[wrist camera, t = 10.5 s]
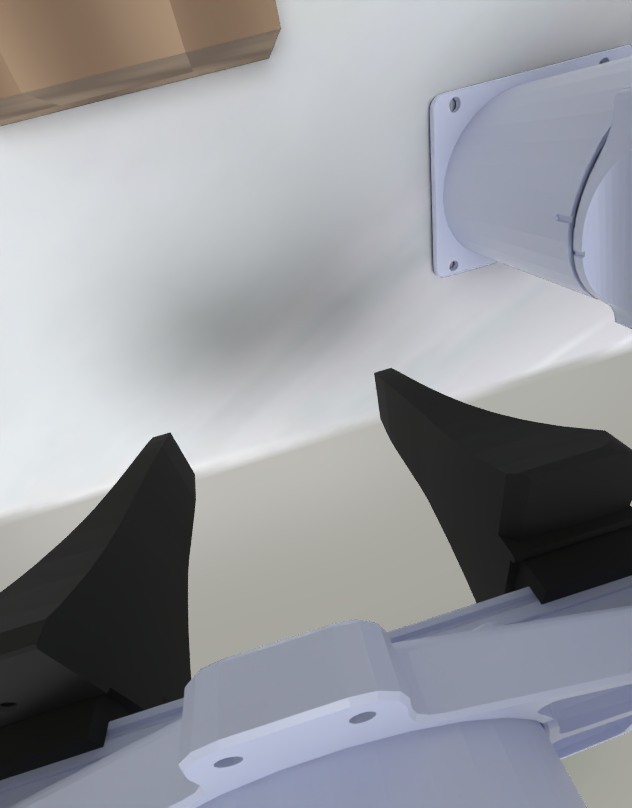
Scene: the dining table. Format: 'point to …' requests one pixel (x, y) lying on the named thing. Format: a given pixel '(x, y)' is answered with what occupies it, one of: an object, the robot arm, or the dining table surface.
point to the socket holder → (120, 47)
